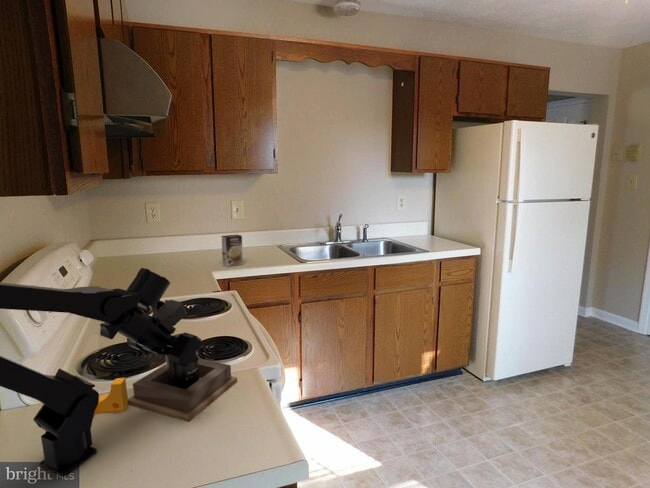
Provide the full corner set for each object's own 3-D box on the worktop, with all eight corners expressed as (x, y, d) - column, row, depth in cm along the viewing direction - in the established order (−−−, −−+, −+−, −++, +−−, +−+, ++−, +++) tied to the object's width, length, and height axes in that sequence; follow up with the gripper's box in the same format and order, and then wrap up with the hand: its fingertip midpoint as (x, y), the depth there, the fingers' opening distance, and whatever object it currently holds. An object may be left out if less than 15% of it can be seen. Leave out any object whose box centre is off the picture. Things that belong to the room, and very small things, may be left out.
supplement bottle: (197, 392, 89) (192, 341, 87) (165, 395, 88) (160, 344, 86) (202, 377, 95) (198, 330, 93) (172, 380, 94) (168, 332, 92)
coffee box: (227, 267, 210) (226, 237, 207) (222, 265, 215) (220, 235, 212) (243, 264, 215) (242, 235, 212) (238, 262, 220) (236, 234, 217)
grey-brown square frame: (188, 421, 81) (187, 401, 80) (127, 403, 88) (125, 385, 87) (237, 381, 97) (236, 364, 96) (182, 368, 103) (181, 352, 102)
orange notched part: (59, 421, 82) (55, 392, 81) (70, 408, 86) (66, 381, 85) (120, 416, 83) (117, 388, 82) (128, 404, 88) (125, 377, 86)
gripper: (191, 299, 79) (233, 333, 90) (134, 286, 89) (179, 318, 100) (159, 351, 74) (208, 380, 85) (103, 331, 84) (153, 359, 95)
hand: (186, 356), depth 91 cm, fingers closed on supplement bottle, 7 cm apart
